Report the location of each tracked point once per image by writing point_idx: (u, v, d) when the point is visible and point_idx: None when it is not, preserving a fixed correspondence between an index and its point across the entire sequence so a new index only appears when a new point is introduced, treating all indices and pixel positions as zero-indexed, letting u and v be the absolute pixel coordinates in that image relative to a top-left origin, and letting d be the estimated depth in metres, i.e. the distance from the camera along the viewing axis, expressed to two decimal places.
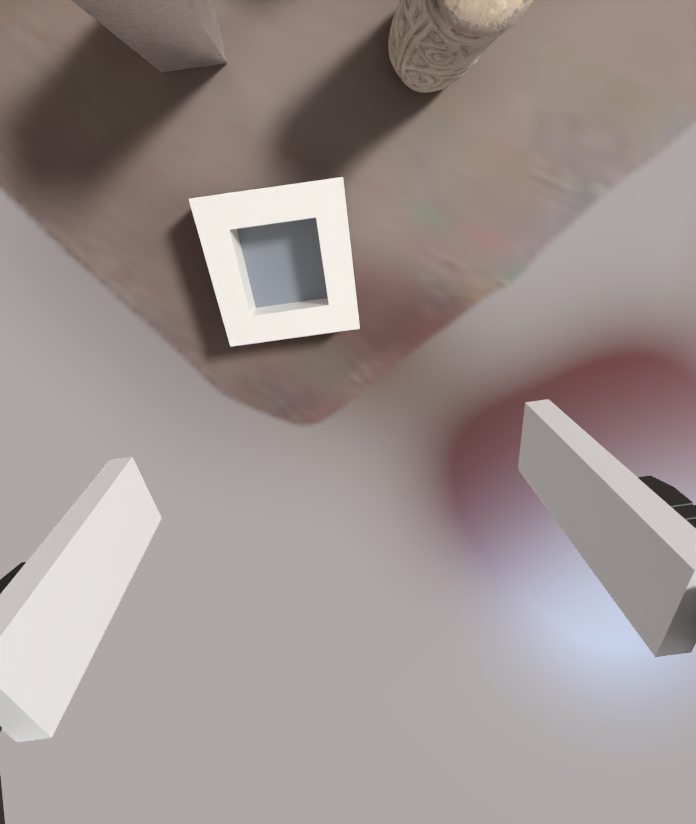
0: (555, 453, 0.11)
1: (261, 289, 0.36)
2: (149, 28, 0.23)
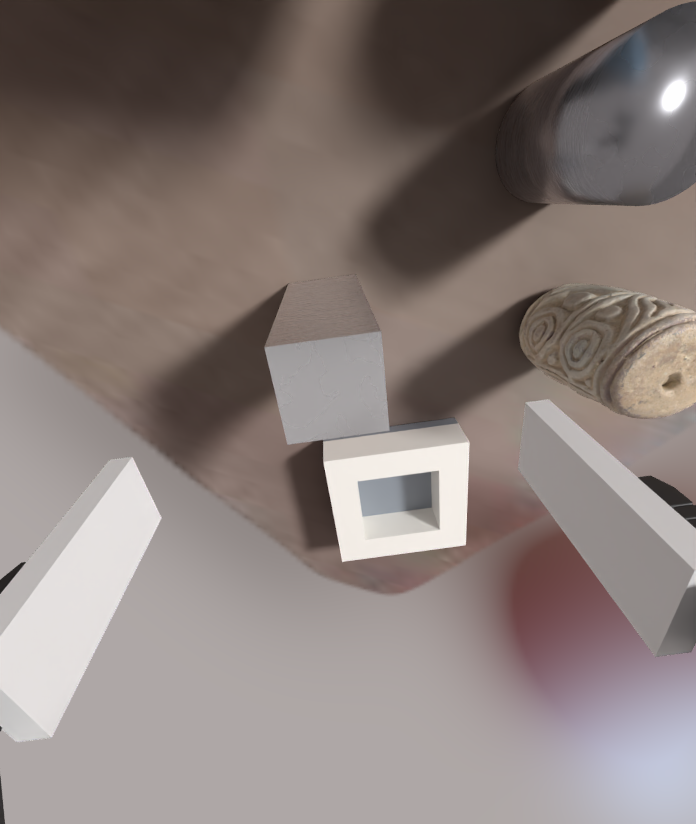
0: (555, 453, 0.11)
1: (370, 503, 0.38)
2: None
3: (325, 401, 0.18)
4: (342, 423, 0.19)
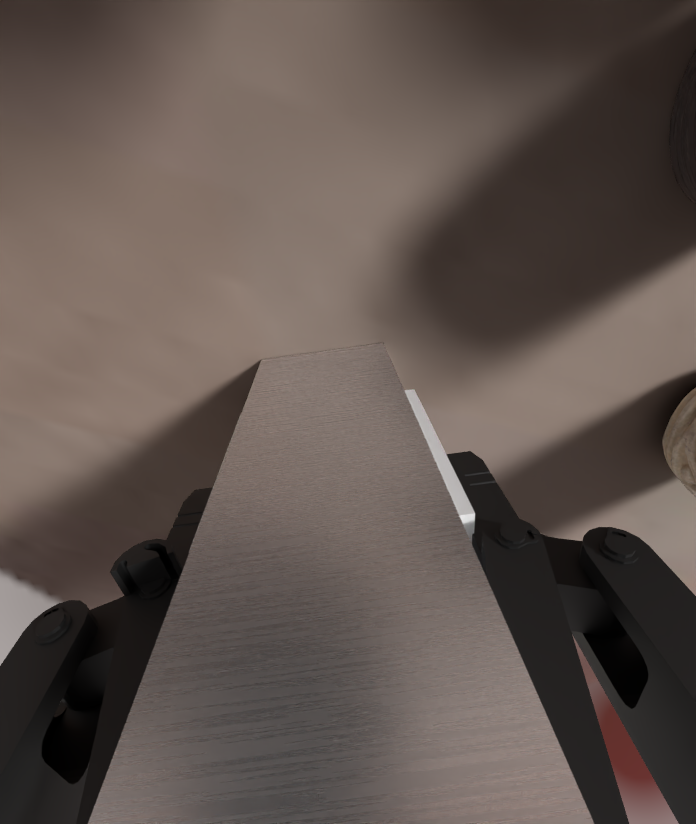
0: None
1: None
2: None
3: None
4: None
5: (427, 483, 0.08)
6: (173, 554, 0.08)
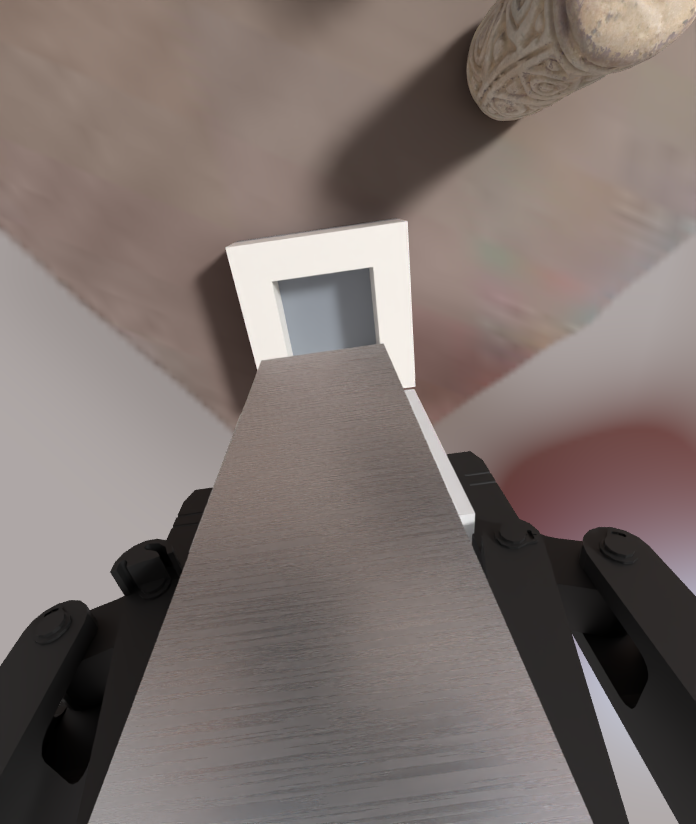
0: None
1: (301, 340, 0.32)
2: None
3: None
4: None
5: (427, 485, 0.08)
6: (173, 554, 0.08)
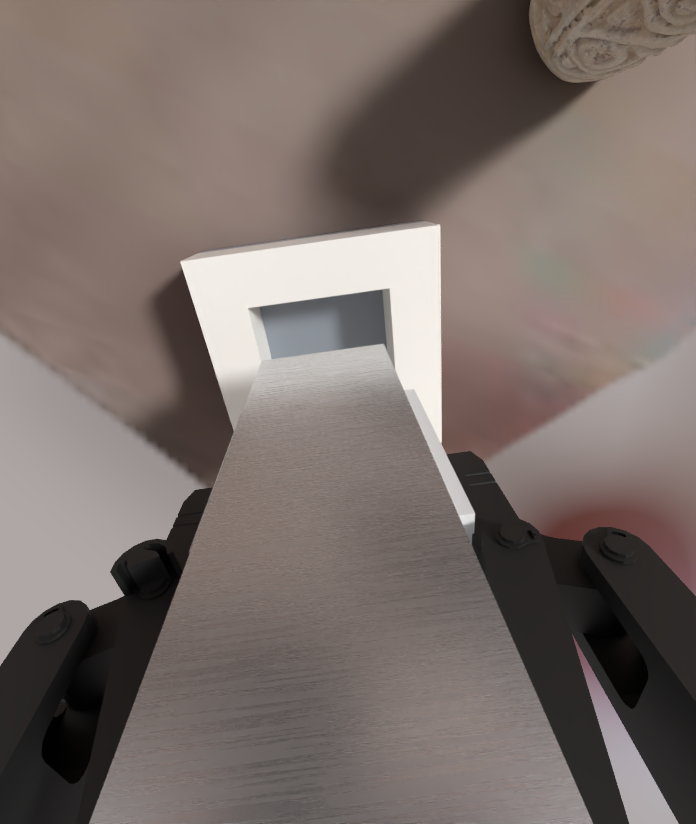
0: None
1: None
2: None
3: None
4: None
5: (428, 485, 0.08)
6: (173, 554, 0.08)
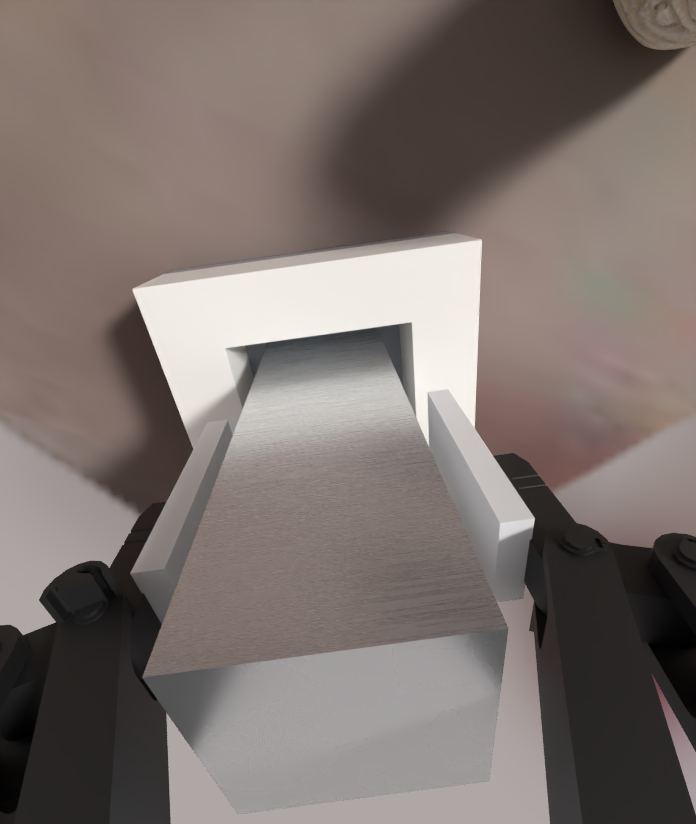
0: (442, 435, 0.13)
1: None
2: None
3: (331, 753, 0.07)
4: (373, 779, 0.07)
5: (408, 433, 0.10)
6: (109, 575, 0.08)
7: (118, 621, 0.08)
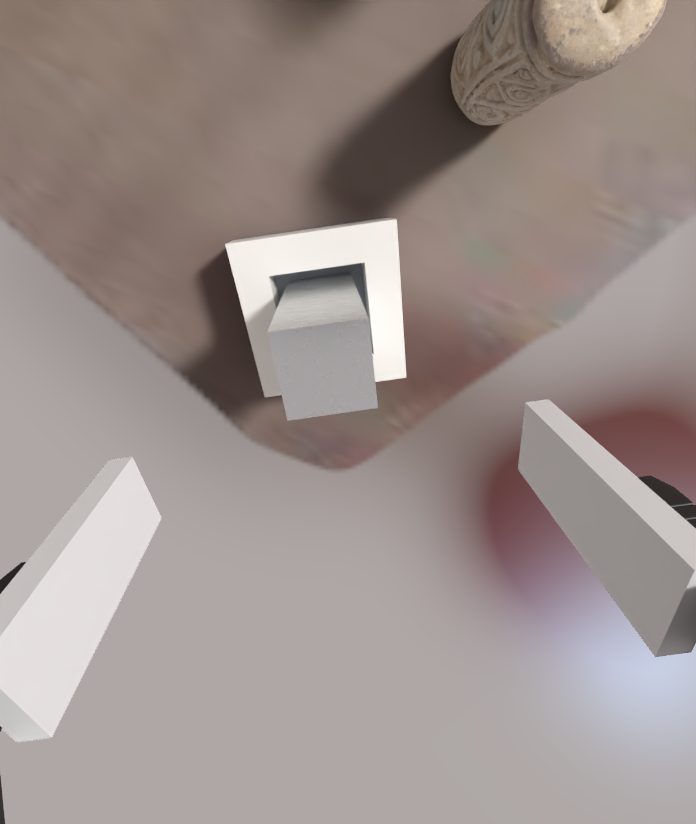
0: (555, 453, 0.11)
1: None
2: None
3: (320, 380, 0.20)
4: (335, 401, 0.21)
5: (353, 296, 0.23)
6: None
7: None
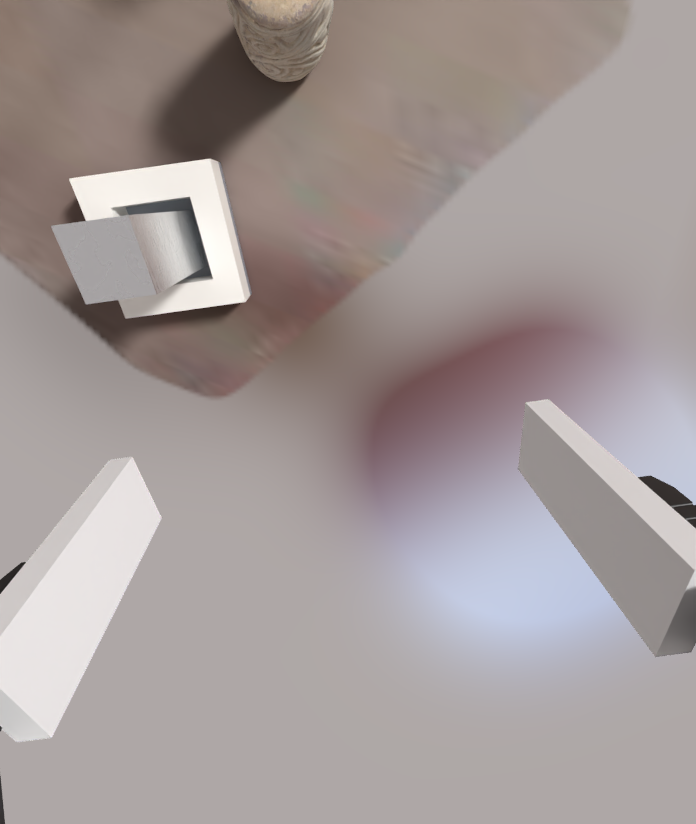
0: (555, 453, 0.11)
1: None
2: None
3: (103, 269, 0.26)
4: (120, 287, 0.27)
5: None
6: None
7: None
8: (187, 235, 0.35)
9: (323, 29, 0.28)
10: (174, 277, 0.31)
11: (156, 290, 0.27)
